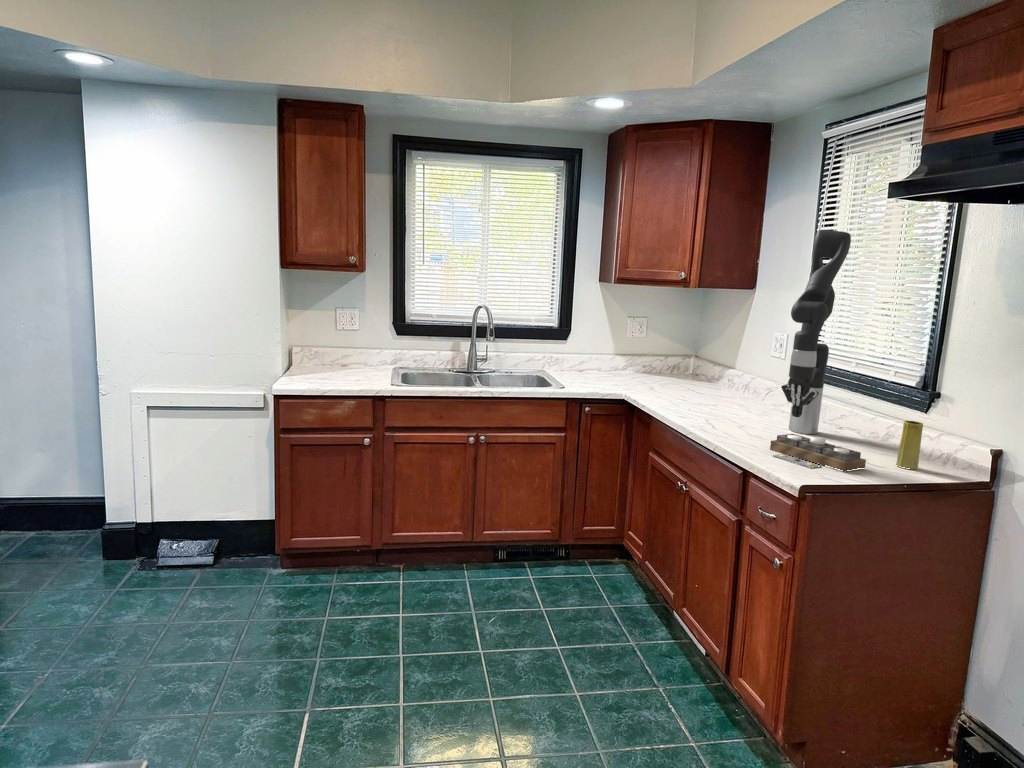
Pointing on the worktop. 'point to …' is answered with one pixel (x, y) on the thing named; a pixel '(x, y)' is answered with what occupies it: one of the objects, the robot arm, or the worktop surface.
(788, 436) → the button left
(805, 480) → the worktop surface
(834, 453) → the button board
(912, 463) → the vase
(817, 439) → the button middle
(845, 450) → the button right
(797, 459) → the pattern card
